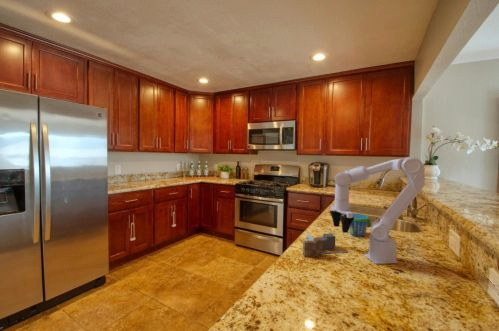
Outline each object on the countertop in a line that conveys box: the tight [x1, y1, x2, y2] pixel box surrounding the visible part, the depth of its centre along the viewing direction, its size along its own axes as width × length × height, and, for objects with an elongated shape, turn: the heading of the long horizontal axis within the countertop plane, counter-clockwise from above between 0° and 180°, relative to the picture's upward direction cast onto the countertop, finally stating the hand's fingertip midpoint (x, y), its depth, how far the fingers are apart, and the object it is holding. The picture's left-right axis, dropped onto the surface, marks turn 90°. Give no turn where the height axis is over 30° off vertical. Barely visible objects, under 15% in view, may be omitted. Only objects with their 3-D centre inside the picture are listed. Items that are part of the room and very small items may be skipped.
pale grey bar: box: [305, 233, 315, 241], centre depth 104 cm, size 12×2×4 cm, turn 11°
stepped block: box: [316, 233, 336, 251], centre depth 104 cm, size 7×4×6 cm, turn 96°
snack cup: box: [348, 212, 372, 237], centre depth 121 cm, size 16×10×10 cm
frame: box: [302, 237, 349, 258], centre depth 97 cm, size 21×4×7 cm, turn 96°
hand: (340, 229), depth 100 cm, fingers open, 7 cm apart
